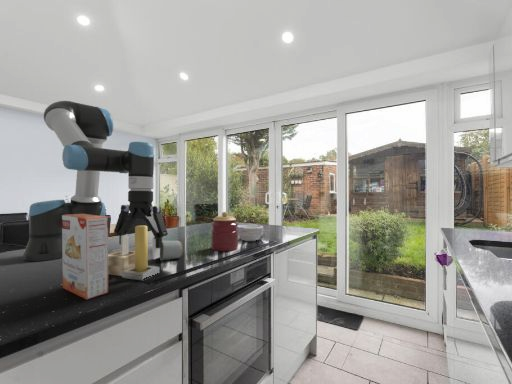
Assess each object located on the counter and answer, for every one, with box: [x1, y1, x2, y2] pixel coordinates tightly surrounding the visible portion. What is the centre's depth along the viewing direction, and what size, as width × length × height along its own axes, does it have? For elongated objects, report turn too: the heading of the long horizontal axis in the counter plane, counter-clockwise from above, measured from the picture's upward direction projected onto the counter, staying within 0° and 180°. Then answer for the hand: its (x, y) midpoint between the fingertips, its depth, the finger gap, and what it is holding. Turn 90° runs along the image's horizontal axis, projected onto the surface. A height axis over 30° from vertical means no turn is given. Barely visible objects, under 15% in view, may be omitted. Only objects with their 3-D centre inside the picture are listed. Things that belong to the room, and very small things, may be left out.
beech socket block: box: [108, 250, 135, 277], centre depth 92 cm, size 9×9×6 cm
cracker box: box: [62, 214, 109, 300], centre depth 73 cm, size 14×6×21 cm, turn 56°
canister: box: [210, 211, 239, 252], centre depth 129 cm, size 13×13×18 cm
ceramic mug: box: [158, 240, 184, 261], centre depth 110 cm, size 11×8×8 cm
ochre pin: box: [134, 225, 149, 272], centre depth 88 cm, size 4×4×16 cm
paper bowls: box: [237, 224, 264, 242], centre depth 152 cm, size 15×15×8 cm
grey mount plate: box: [121, 265, 160, 281], centre depth 88 cm, size 8×8×2 cm
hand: (139, 256), depth 88 cm, fingers open, 12 cm apart
